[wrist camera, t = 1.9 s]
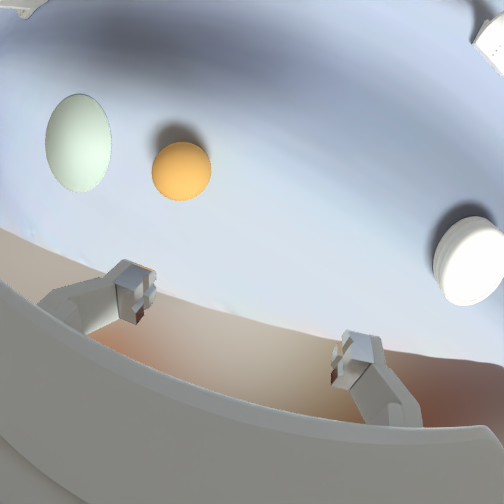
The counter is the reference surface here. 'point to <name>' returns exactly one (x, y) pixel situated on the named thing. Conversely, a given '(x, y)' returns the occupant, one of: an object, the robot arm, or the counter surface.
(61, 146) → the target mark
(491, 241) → the white round disc
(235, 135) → the counter surface
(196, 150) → the ball
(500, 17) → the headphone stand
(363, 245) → the counter surface
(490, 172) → the counter surface
